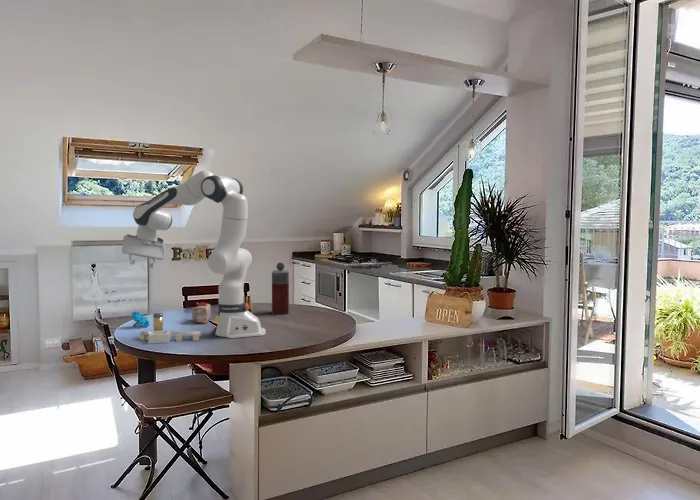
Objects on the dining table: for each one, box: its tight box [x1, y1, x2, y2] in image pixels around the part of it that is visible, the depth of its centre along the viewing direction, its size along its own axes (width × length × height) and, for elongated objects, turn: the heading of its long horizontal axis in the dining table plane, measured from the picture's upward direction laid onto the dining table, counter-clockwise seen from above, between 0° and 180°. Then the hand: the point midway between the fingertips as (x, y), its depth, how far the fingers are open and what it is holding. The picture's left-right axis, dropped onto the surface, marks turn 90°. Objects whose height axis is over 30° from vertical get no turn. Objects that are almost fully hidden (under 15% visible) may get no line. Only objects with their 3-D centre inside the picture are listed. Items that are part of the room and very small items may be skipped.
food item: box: [191, 301, 212, 324], centre depth 270 cm, size 14×8×10 cm, turn 6°
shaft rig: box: [147, 330, 202, 344], centre depth 230 cm, size 21×8×4 cm, turn 102°
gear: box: [131, 310, 150, 328], centre depth 257 cm, size 11×6×10 cm
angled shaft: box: [139, 330, 151, 341], centre depth 231 cm, size 4×4×4 cm
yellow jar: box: [152, 312, 164, 331], centre depth 238 cm, size 4×4×10 cm
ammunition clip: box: [243, 295, 253, 314], centre depth 278 cm, size 11×2×12 cm, turn 88°
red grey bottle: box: [271, 261, 290, 316], centre depth 293 cm, size 9×11×28 cm
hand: (142, 265), depth 255 cm, fingers open, 8 cm apart
